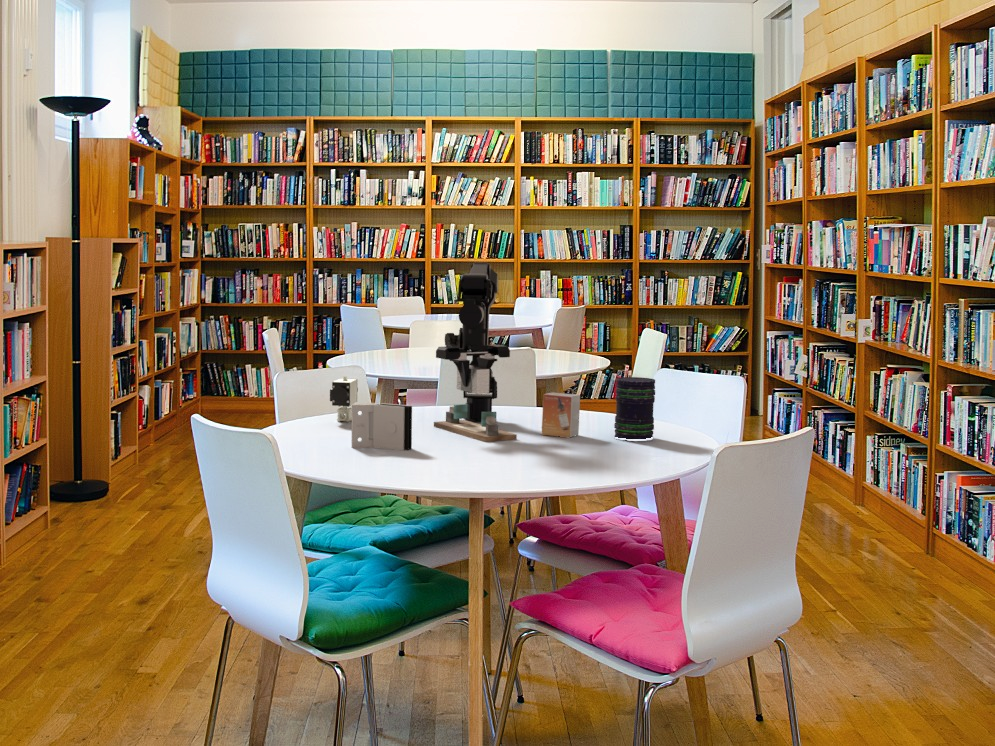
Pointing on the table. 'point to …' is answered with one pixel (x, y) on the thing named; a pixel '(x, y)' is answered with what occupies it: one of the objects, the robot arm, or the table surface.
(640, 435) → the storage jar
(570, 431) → the small box
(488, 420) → the shaft coupling stand
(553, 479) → the table surface
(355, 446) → the hinge
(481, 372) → the block
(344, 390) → the pneumatic valve
